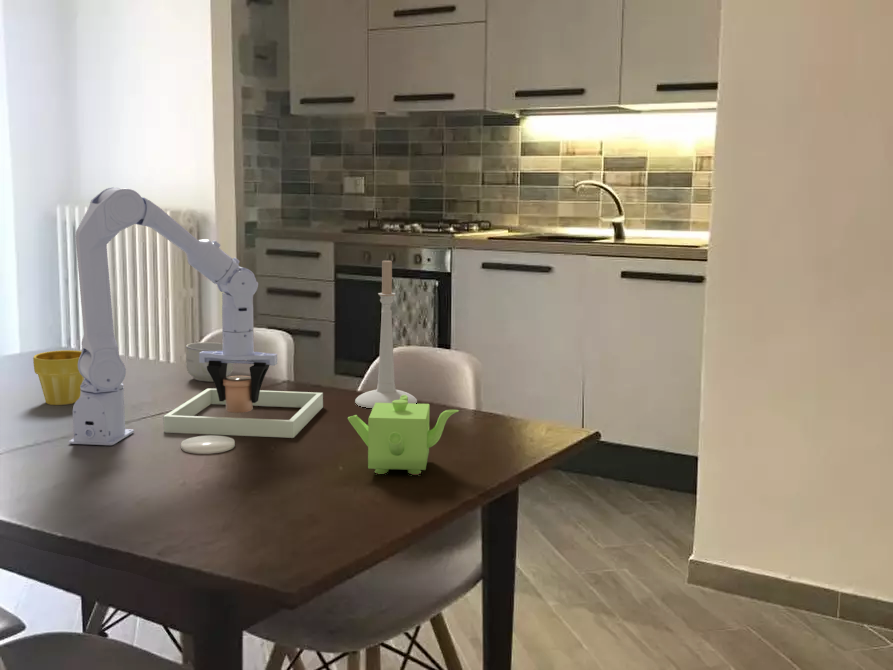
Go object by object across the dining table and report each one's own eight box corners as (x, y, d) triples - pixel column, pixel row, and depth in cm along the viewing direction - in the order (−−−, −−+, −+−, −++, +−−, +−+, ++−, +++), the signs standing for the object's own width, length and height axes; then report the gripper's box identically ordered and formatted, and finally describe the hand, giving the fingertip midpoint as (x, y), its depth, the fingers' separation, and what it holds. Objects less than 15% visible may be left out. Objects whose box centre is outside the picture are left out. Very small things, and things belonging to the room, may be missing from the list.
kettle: (403, 450, 173) (404, 386, 171) (463, 468, 163) (464, 401, 161) (335, 467, 162) (336, 399, 160) (394, 487, 152) (395, 416, 151)
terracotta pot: (249, 413, 187) (248, 382, 186) (219, 412, 188) (218, 381, 187) (258, 406, 193) (257, 375, 192) (229, 405, 193) (228, 375, 192)
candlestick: (389, 393, 217) (389, 254, 212) (429, 403, 208) (431, 259, 203) (342, 402, 208) (342, 257, 203) (383, 413, 199) (383, 262, 194)
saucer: (225, 455, 168) (225, 450, 168) (173, 452, 169) (173, 448, 169) (241, 440, 177) (241, 436, 177) (191, 438, 178) (191, 434, 178)
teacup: (197, 373, 234) (196, 340, 233) (242, 375, 233) (241, 341, 232) (173, 386, 221) (172, 350, 219) (220, 388, 219) (219, 352, 218)
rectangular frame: (293, 437, 180) (293, 421, 179) (163, 432, 182) (163, 416, 181) (322, 407, 203) (322, 392, 203) (207, 402, 205) (207, 388, 205)
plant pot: (54, 410, 197) (51, 361, 196) (25, 402, 203) (23, 354, 202) (100, 401, 205) (98, 354, 204) (71, 393, 211) (69, 348, 210)
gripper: (281, 328, 191) (281, 397, 193) (207, 325, 192) (208, 394, 195) (271, 334, 184) (271, 406, 186) (194, 331, 185) (196, 402, 188)
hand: (238, 401), depth 190 cm, fingers closed on terracotta pot, 6 cm apart
